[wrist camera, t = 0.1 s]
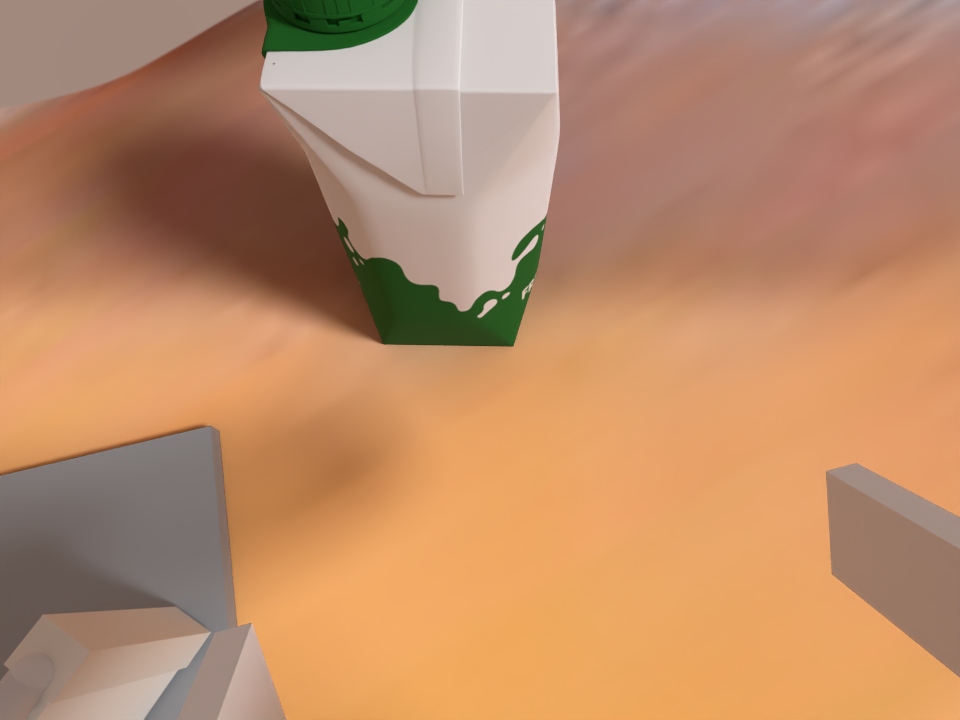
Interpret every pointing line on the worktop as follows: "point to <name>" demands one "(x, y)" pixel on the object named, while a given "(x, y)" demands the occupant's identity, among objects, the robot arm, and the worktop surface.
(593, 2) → the worktop surface
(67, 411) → the worktop surface
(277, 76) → the milk carton
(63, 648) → the rod
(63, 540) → the board
